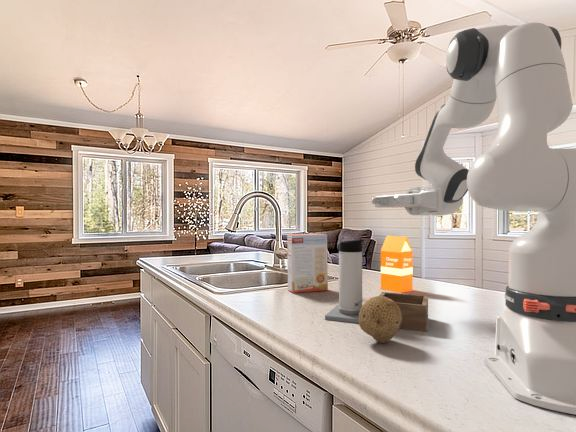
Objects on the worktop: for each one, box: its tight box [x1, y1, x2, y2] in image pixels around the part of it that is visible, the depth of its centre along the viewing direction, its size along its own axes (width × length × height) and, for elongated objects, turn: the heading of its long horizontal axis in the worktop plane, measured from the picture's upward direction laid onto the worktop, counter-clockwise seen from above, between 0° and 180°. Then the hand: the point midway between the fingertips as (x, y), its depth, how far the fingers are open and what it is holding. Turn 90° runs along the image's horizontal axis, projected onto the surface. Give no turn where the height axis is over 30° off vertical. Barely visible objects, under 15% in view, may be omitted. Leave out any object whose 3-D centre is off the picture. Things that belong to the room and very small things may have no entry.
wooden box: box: [378, 291, 429, 332], centre depth 92 cm, size 12×12×6 cm
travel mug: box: [338, 238, 364, 315], centre depth 97 cm, size 6×7×20 cm
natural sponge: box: [358, 295, 402, 344], centre depth 76 cm, size 9×9×10 cm
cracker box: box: [286, 233, 329, 294], centre depth 131 cm, size 14×6×21 cm, turn 108°
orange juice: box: [380, 235, 414, 294], centre depth 133 cm, size 8×9×20 cm
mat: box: [324, 304, 359, 324], centre depth 97 cm, size 12×11×1 cm
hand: (384, 200), depth 103 cm, fingers open, 8 cm apart
